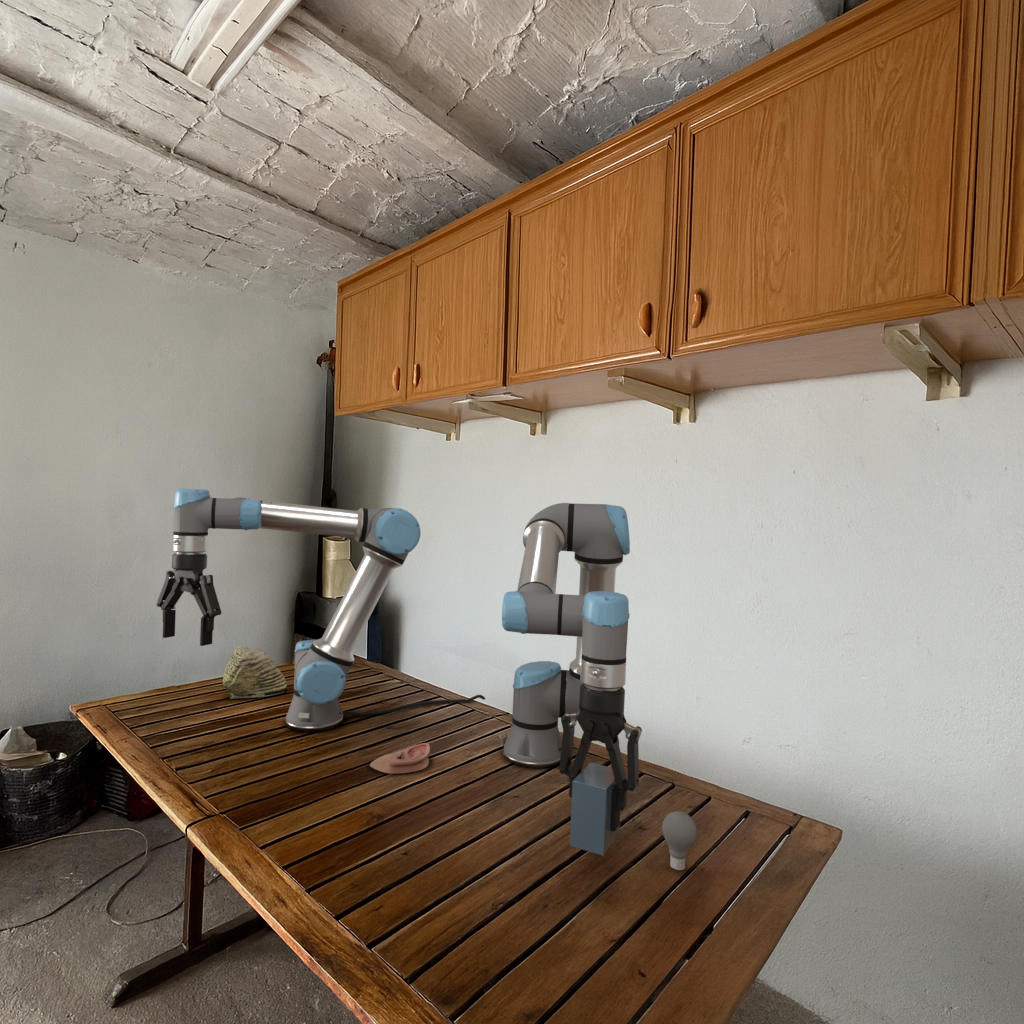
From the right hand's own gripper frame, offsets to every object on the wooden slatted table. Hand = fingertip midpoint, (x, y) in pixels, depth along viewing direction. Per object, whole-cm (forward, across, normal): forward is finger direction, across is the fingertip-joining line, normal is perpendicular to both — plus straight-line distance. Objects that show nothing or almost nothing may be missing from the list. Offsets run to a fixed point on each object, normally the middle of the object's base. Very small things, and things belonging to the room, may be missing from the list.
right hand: (596, 822), depth 106 cm
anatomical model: (+11, -56, +22) cm, 61 cm away
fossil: (+10, -126, +40) cm, 132 cm away
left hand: (-16, -104, 0) cm, 105 cm away
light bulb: (+11, +11, +13) cm, 20 cm away
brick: (+3, 0, 0) cm, 3 cm away
